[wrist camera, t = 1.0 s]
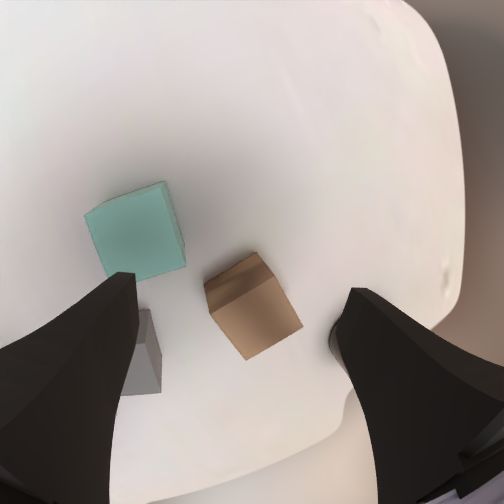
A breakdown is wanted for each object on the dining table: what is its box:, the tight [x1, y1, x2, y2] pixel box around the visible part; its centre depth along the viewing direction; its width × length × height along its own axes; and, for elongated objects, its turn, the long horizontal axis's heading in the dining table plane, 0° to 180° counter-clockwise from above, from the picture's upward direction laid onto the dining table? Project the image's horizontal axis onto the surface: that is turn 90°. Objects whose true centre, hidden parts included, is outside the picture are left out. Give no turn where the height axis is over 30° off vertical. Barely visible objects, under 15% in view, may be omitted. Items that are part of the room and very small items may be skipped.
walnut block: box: [204, 252, 304, 360], centre depth 23 cm, size 5×5×5 cm
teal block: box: [84, 181, 186, 282], centre depth 19 cm, size 5×5×5 cm
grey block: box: [121, 309, 162, 396], centre depth 22 cm, size 5×5×5 cm
